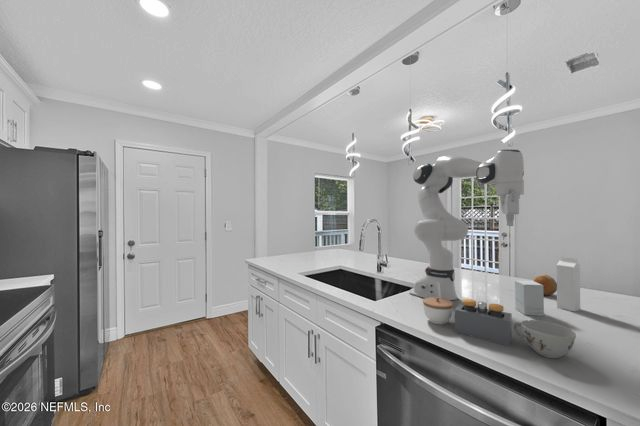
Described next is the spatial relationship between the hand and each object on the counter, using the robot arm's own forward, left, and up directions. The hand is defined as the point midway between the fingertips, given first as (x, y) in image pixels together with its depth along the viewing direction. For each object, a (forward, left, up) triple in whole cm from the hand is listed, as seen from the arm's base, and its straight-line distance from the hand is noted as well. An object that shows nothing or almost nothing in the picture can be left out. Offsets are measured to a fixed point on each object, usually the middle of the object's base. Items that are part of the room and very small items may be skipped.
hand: (510, 225), depth 104 cm
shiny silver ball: (-7, -20, -29) cm, 36 cm away
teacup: (+10, -22, -37) cm, 44 cm away
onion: (+10, +49, -37) cm, 62 cm away
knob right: (-3, -20, -35) cm, 41 cm away
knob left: (-11, -20, -35) cm, 42 cm away
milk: (+18, +31, -37) cm, 52 cm away
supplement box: (+5, +15, -37) cm, 41 cm away
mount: (-7, -20, -37) cm, 43 cm away
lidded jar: (-22, -18, -37) cm, 47 cm away
